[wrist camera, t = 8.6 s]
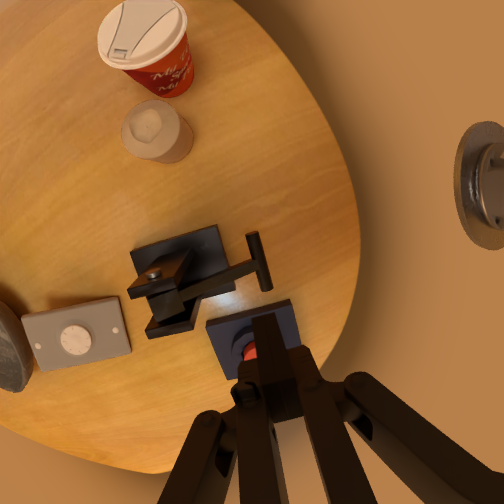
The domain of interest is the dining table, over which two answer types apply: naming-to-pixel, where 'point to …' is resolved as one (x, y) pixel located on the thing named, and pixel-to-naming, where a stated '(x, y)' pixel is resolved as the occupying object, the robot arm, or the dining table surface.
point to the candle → (156, 132)
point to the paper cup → (149, 44)
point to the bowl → (14, 352)
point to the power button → (250, 351)
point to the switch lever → (213, 282)
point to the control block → (248, 333)
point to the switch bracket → (179, 274)
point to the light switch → (77, 334)
